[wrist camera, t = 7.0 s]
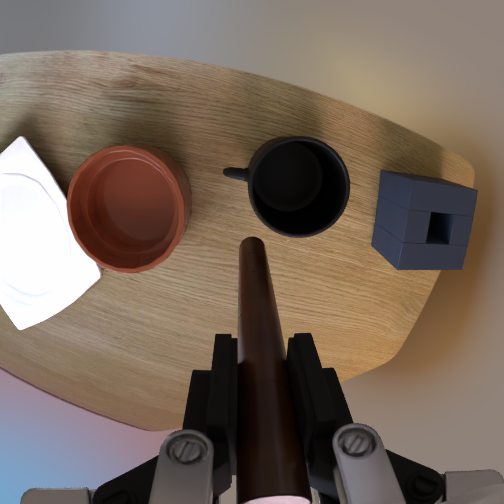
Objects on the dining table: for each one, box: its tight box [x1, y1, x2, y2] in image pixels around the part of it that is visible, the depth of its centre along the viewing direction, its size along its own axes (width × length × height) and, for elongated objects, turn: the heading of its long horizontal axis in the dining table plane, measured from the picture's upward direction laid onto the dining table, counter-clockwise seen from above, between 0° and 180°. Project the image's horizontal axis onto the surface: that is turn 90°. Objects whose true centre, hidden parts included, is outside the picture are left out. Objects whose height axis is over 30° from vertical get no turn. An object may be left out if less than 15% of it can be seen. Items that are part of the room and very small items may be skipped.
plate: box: [0, 136, 102, 330], centre depth 36 cm, size 24×24×3 cm
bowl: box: [66, 144, 192, 273], centre depth 34 cm, size 14×14×6 cm
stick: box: [236, 237, 312, 504], centre depth 14 cm, size 2×2×18 cm
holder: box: [372, 170, 478, 270], centre depth 34 cm, size 10×10×8 cm
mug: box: [223, 136, 350, 238], centre depth 32 cm, size 9×12×9 cm
